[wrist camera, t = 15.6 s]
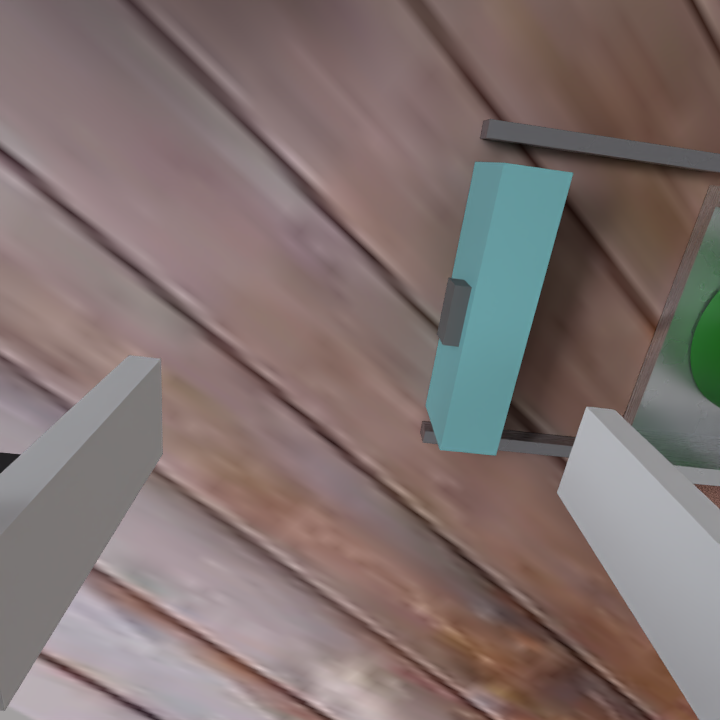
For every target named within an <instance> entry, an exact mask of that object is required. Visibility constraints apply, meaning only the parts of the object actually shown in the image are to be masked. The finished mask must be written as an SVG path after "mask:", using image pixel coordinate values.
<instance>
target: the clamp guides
mask: <svg viewBox="0 0 720 720" xmlns="http://www.w3.org/2000/svg"><path fill="white" fill-rule="evenodd" d="M480 138H481V139H488V140H495V141H501V142H508V143H515V144H522V145H528V146H535V147H542V148H548V149H555V150H562V151H569V152H575V153H582V154H589V155H596V156H602V157H609V158H616V159H622V160H629V161H636V162H643V163H649V164H656V165H663V166H670V167H676V168H683V169H690V170H696V171H703V172H720V154H717V153H710V152H704V151H697V150H691V149H684V148H677V147H671V146H664V145H658V144H651V143H645V142H638V141H631V140H625V139H618V138H612V137H605V136H598V135H592V134H585V133H579V132H572V131H565V130H559V129H552V128H546V127H539V126H532V125H526V124H519V123H513V122H506V121H500V120H493V119H488V120H485V121H483V126H482V131H481V136H480ZM420 434H421V437H422V441H423V443H432V444H438V443H437V439H436V436H435V433H434V430H433V427H432V424H431V422H425V421H422V426H421V431H420ZM575 439H576V437H568V436H558V435H549V434H539V433H530V432H520V431H511V430H503V431H502V435H501V439H500V442H499V446H498V450H501V451H511V452H521V453H531V454H540V455H550V456H560V457H569V456H570V453H571V450H572V447H573V444H574V441H575Z"/></svg>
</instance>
